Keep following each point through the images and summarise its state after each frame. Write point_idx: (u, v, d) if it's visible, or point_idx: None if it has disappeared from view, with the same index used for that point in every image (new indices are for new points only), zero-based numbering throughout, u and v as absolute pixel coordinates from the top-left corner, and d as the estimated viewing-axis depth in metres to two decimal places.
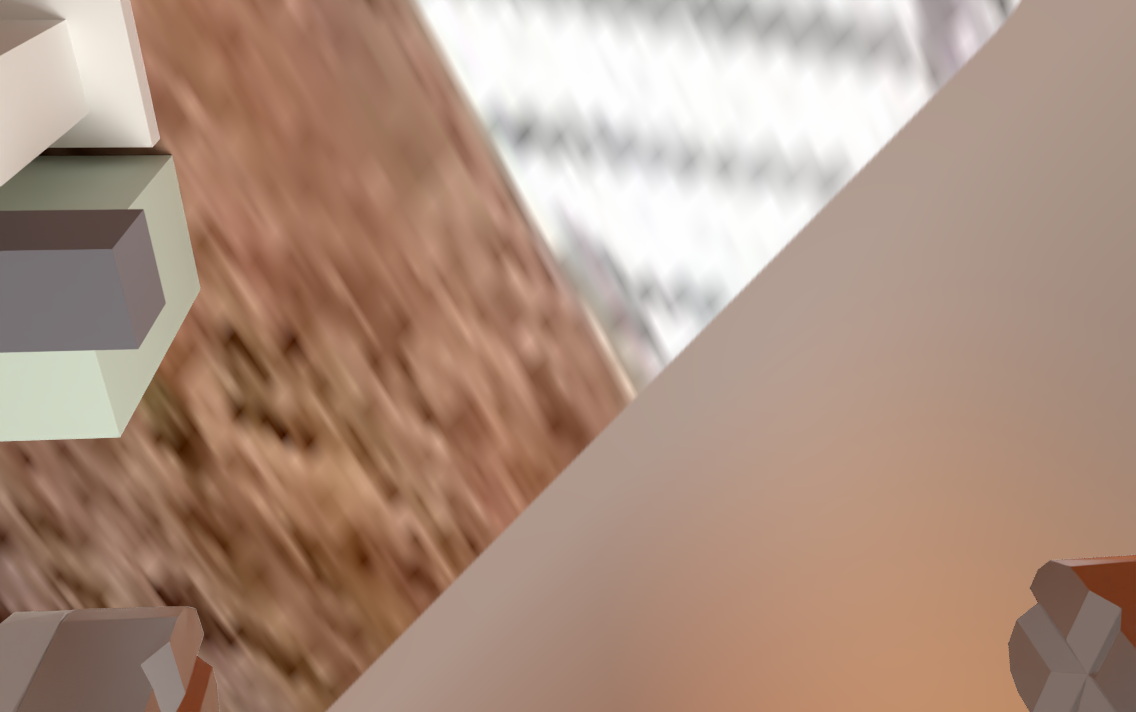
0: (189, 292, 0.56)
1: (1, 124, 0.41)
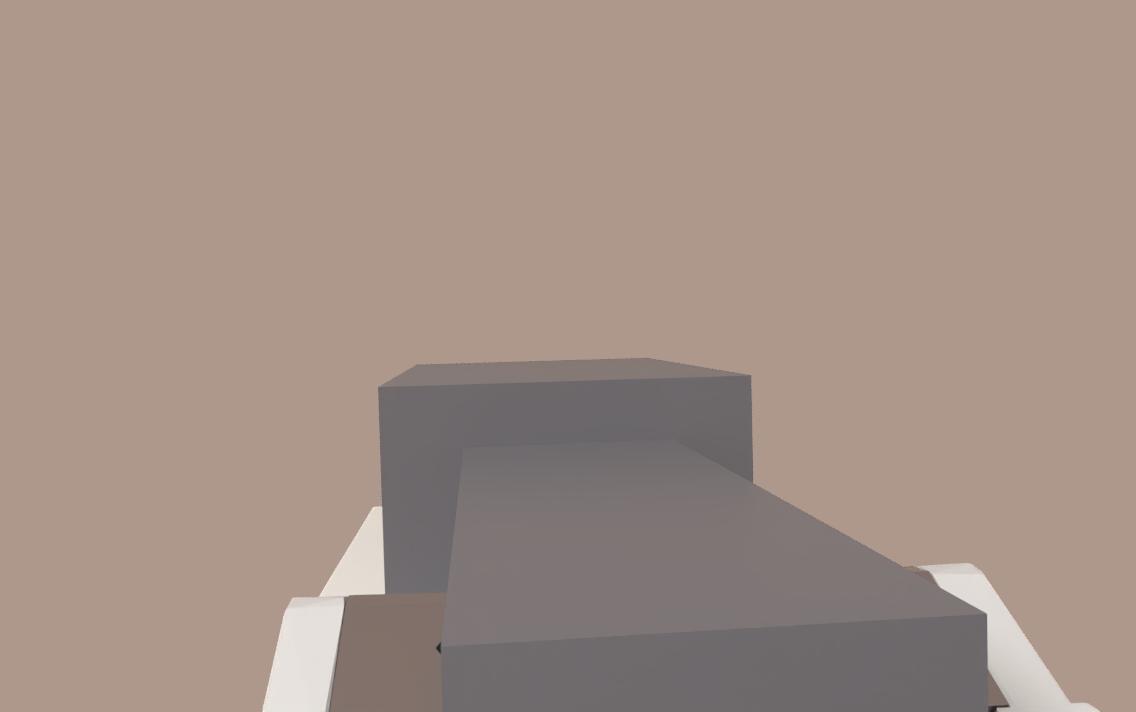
0: None
1: None
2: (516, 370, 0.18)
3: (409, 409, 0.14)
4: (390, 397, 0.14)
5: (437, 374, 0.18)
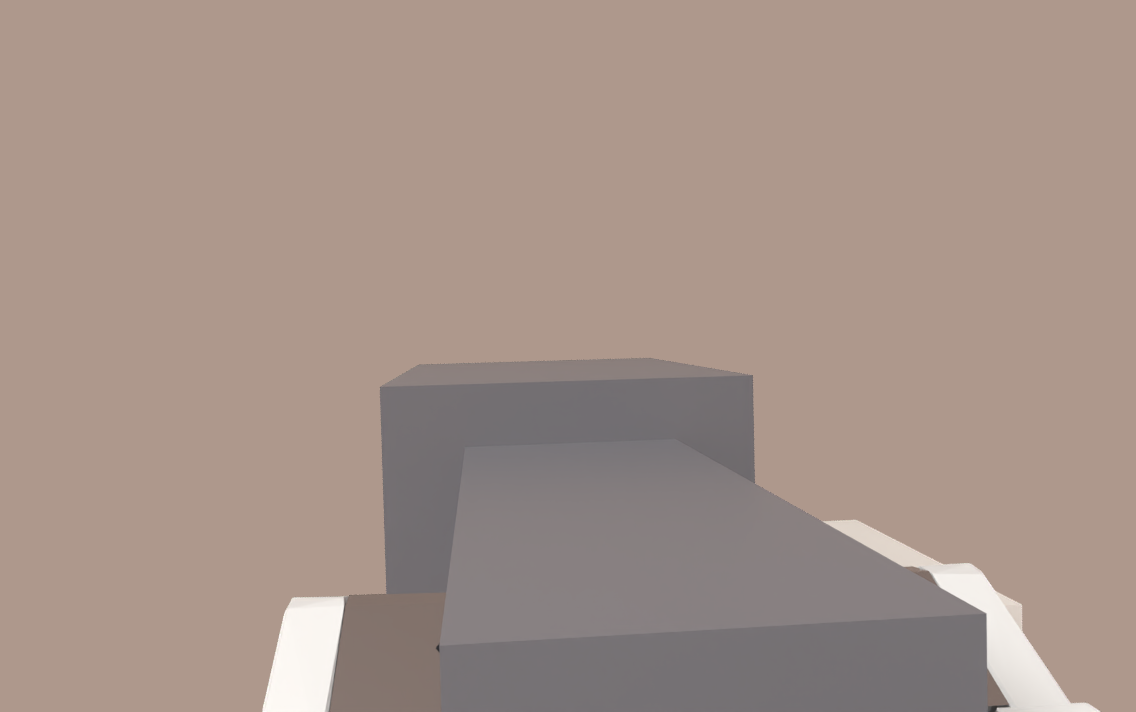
0: None
1: None
2: (518, 370, 0.19)
3: (411, 409, 0.14)
4: (392, 397, 0.14)
5: (439, 374, 0.18)
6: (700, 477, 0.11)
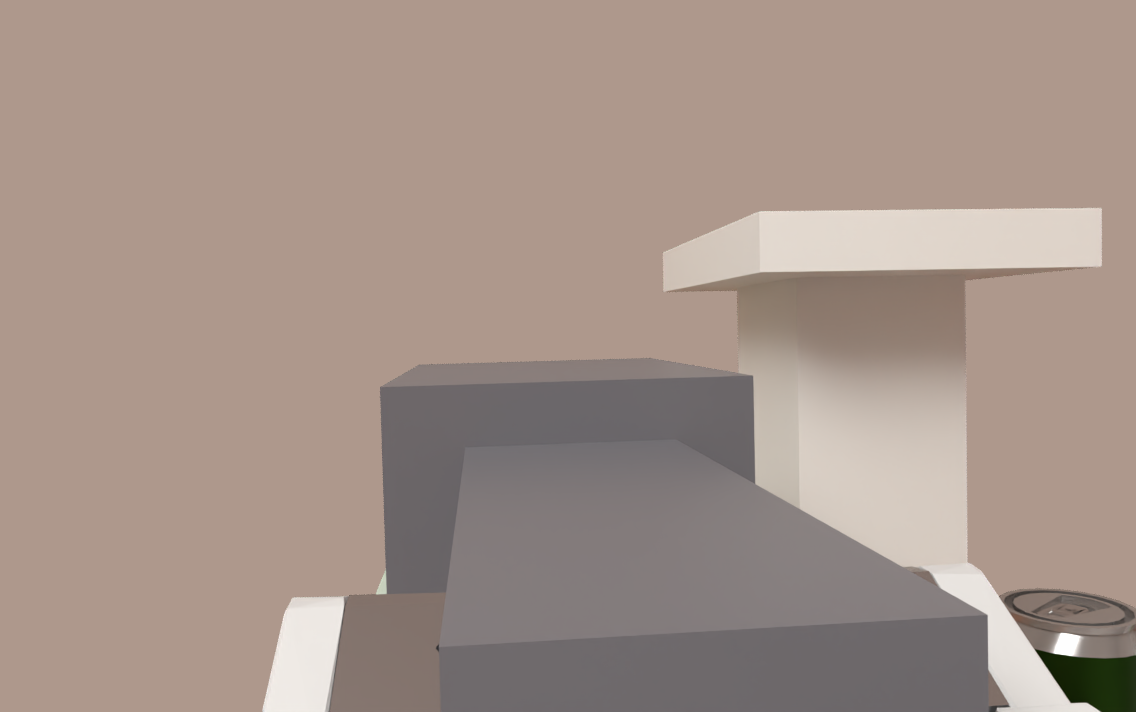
0: None
1: None
2: (518, 370, 0.18)
3: (411, 410, 0.14)
4: (392, 397, 0.14)
5: (439, 374, 0.18)
6: (700, 477, 0.11)
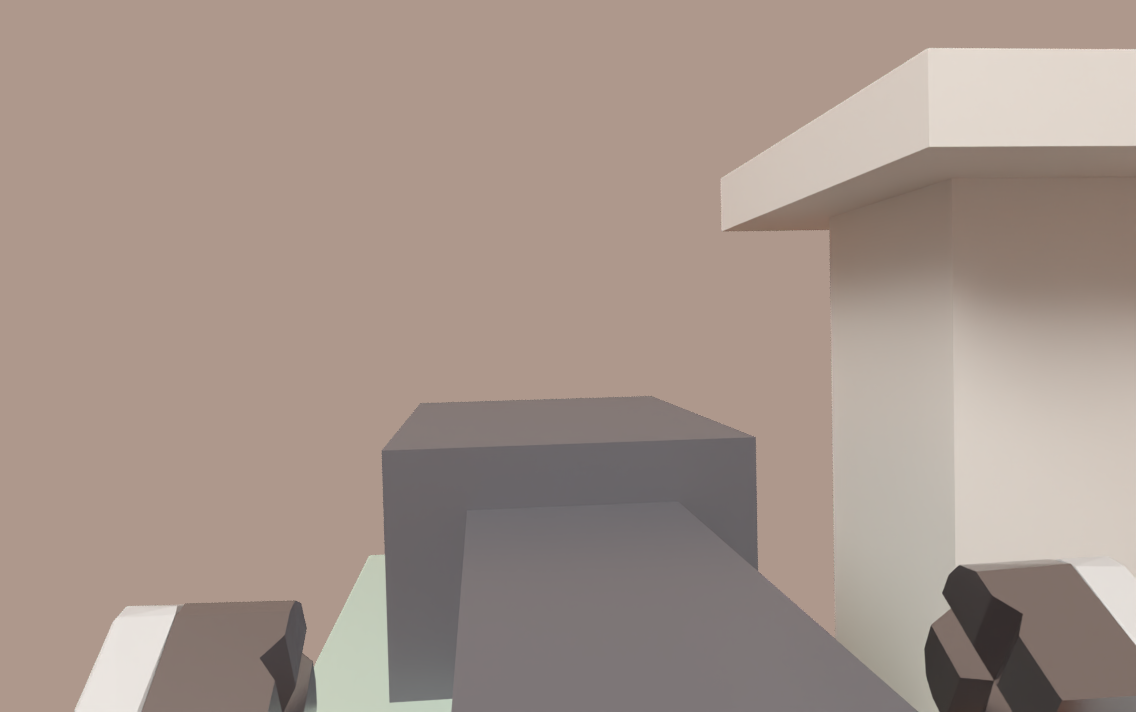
0: None
1: None
2: (520, 418, 0.18)
3: (414, 473, 0.14)
4: (394, 460, 0.14)
5: (441, 424, 0.18)
6: (703, 561, 0.11)
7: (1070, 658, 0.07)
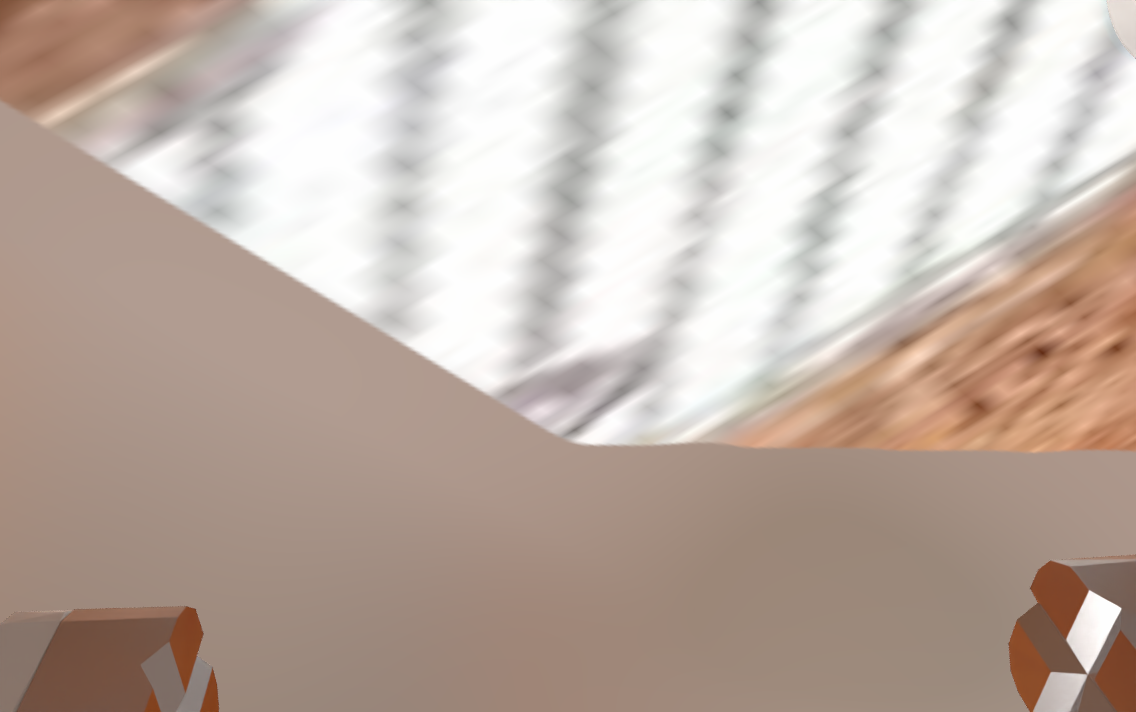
0: None
1: None
2: None
3: None
4: None
5: None
6: None
7: None
